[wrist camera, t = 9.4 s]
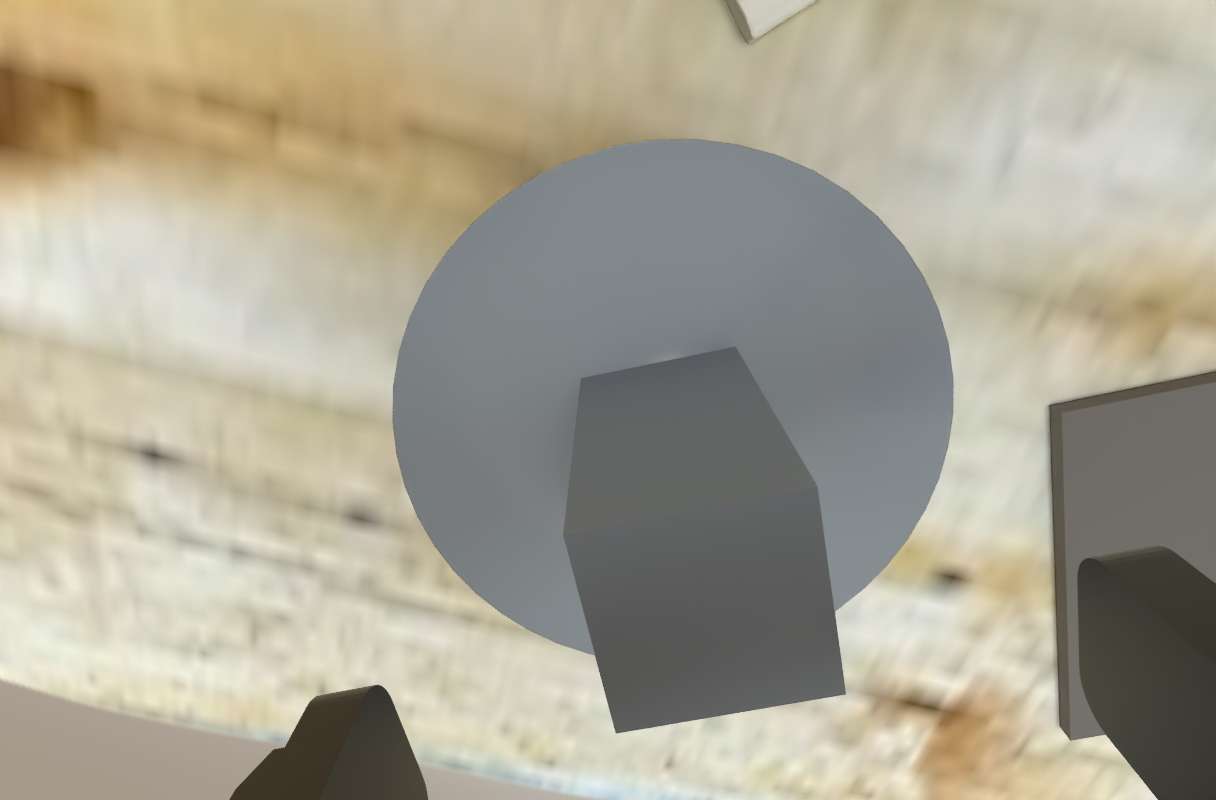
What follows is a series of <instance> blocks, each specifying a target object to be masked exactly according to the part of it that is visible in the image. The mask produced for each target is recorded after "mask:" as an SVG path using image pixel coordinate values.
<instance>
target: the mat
mask: <svg viewBox="0 0 1216 800" xmlns="http://www.w3.org/2000/svg"><path fill="white" fill-rule="evenodd" d="M1050 418H1051V449H1052V480H1053V511H1054V542H1055V574H1056V605H1057V636H1058V667H1059V698H1060V727H1061V729H1062V730H1063V731H1064V733H1065V734H1066V735H1067V736H1068V738H1069V739H1070V740H1076V739H1082V738H1088V737H1094V736H1100V735H1106V734H1105V733H1104V731H1103V730H1102V729H1101V727H1100V725H1099V724H1098V722H1097V721H1096V719H1095V717H1094V715H1093V713H1092V711H1091V709H1090V707H1089V705H1088V702H1087V700H1086V697H1085V694H1084V691H1083V687H1082V684H1081V679H1080V671H1079V635H1078V589H1077V574H1078V568H1079V565H1080V563H1081V562H1082V561H1083V560H1084V559H1086V558H1090V557H1096V556H1101V555H1107V554H1112V553H1118V552H1123V551H1129V550H1134V549H1140V548H1146V547H1151V546H1158V545H1159V546H1164V547H1166V548H1169V549H1170V550H1172V551H1173V552H1175V553H1176V554H1178V555H1179V556H1180V557H1182V558H1183V559H1184V560H1186V561H1187V562H1188V563H1189V564H1191V565H1192V566H1193V567H1195V568H1196V569H1197V570H1199V571H1200V572H1201V573H1203V574H1204V575H1205V576H1206V577H1208V578H1209V579H1210V580H1212V581H1213V582H1214V583H1216V372H1214V373H1209V374H1204V375H1199V376H1194V377H1189V378H1184V379H1179V380H1174V381H1169V382H1164V383H1159V384H1155V385H1150V386H1145V387H1140V388H1135V389H1130V390H1125V391H1120V392H1115V393H1110V394H1105V395H1100V396H1095V397H1090V398H1085V399H1080V400H1076V401H1071V402H1066V403H1061V404H1056V405H1051V406H1050Z"/></svg>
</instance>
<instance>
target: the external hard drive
mask: <svg viewBox="0 0 1216 800" xmlns="http://www.w3.org/2000/svg"><path fill="white" fill-rule="evenodd" d="M816 1H817V0H726V2H727V4H728V6H729V8H730V10H731V12H732V14H733V16H734V18H735V20H736V23H737V25H738V27H739V29H740V31H741V33H742V35H743V37H744V38H745V40H746V42H747V43H752V42H753V41H755V40H757V39H758V38H760V37H761V36H763V35H764V34H766V33H767V32H769V31H770V30H772V29H773V28H775V27H777V26H778V25H780V24H781V23H783V22H784V21H786V20H787V19H789V18H790V17H792V16H793V15H795V14H797V13H798V12H800V11H801V10H803V9H804V8H806V7H808V6H809V5H811V4H812V3H814V2H816Z"/></svg>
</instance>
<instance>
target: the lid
mask: <svg viewBox="0 0 1216 800" xmlns="http://www.w3.org/2000/svg"><path fill="white" fill-rule="evenodd" d="M952 417H953V372H952V365H951V358H950V351H949V344H948V340H947V336H946V333H945V330H944V326H943V323H942V319H941V316H940V313H939V309H938V307H937V305H936V302H935V300H934V298H933V296H932V294H931V292H930V289H929V287H928V285H927V283H926V281H925V279H924V276H923V275H922V273H921V272H920V270H919V269H918V267H917V266H916V264H915V263H914V261H913V259H912V258H911V256H910V255H909V253H908V252H907V250H906V249H905V247H904V246H903V244H902V243H901V242H900V241H899V240H898V239H897V238H896V237H895V235H894V234H893V233H892V232H891V231H890V230H889V229H888V228H887V226H886V225H885V224H884V223H883V222H882V221H881V220H880V219H879V217H878V216H876V215H875V214H874V213H873V212H872V211H870V210H869V209H868V208H867V207H866V206H864V205H863V204H862V203H861V202H860V201H858V200H857V199H856V198H855V197H854V196H852V195H851V194H850V193H849V192H848V191H846V190H844V189H843V188H841V187H839V186H838V185H836V184H835V183H833V182H831V181H830V180H828V179H826V178H825V177H823V176H821V175H820V174H818V173H817V172H815V171H813V170H811V169H808V168H806V167H804V166H801V165H799V164H797V163H794V162H792V161H790V160H787V159H785V158H783V157H780V156H778V155H775V154H771V153H767V152H764V151H760V150H756V149H752V148H749V147H745V146H741V145H737V144H729V143H721V142H713V141H705V140H697V139H669V140H648V141H642V142H635V143H629V144H622V145H616V146H611V147H608V148H605V149H602V150H598V151H595V152H592V153H588V154H585V155H582V156H578V157H575V158H573V159H571V160H569V161H567V162H564V163H562V164H560V165H558V166H556V167H553V168H551V169H549V170H547V171H545V172H543V173H540V174H539V175H537V176H536V177H534V178H532V179H531V180H529V181H528V182H526V183H525V184H523V185H521V186H520V187H518V188H517V189H515V190H514V191H512V192H510V193H509V194H507V195H506V196H504V197H503V198H501V199H500V200H499V201H498V202H497V203H496V204H494V205H493V206H492V207H491V208H490V209H489V210H487V211H486V212H485V213H484V214H483V215H481V216H480V217H479V218H478V219H477V220H476V221H474V222H473V223H472V224H471V225H470V227H469V228H468V229H467V230H466V231H465V232H464V233H463V234H462V236H461V237H460V238H459V239H458V240H457V241H456V242H455V243H454V245H453V246H452V247H451V248H450V249H449V250H448V251H447V253H446V254H445V256H444V257H443V259H442V260H441V262H440V263H439V265H438V266H437V268H436V269H435V271H434V272H433V274H432V275H431V277H430V278H429V280H428V281H427V283H426V284H425V286H424V288H423V291H422V293H421V295H420V297H419V299H418V301H417V303H416V305H415V307H414V309H413V311H412V314H411V316H410V318H409V321H408V324H407V328H406V331H405V334H404V337H403V340H402V344H401V347H400V350H399V355H398V361H397V367H396V373H395V379H394V385H393V428H394V437H395V445H396V453H397V458H398V462H399V465H400V469H401V473H402V477H403V481H404V484H405V488H406V490H407V492H408V495H409V497H410V500H411V502H412V505H413V507H414V509H415V512H416V514H417V517H418V518H419V520H420V522H421V524H422V525H423V527H424V529H425V530H426V532H427V534H428V536H429V537H430V539H431V541H432V543H433V544H434V546H435V547H436V548H437V550H438V551H439V552H440V554H441V555H442V556H443V557H444V559H445V560H446V561H447V563H448V564H449V565H450V567H451V568H452V569H453V570H454V572H455V573H456V574H457V575H458V576H459V577H460V578H461V579H462V580H463V581H464V582H465V583H466V584H467V585H468V586H469V587H470V588H471V589H472V590H473V591H474V592H475V593H476V594H477V595H479V596H480V597H481V598H483V599H484V600H485V601H486V602H488V603H489V604H490V605H491V606H493V607H494V608H495V609H497V610H498V611H499V612H500V613H502V614H503V615H505V616H507V617H508V618H510V619H511V620H513V621H515V622H516V623H518V624H520V625H521V626H523V627H525V628H526V629H528V630H530V631H532V632H534V633H536V634H538V635H541V636H543V637H545V638H547V639H549V640H551V641H554V642H556V643H558V644H561V645H564V646H567V647H570V648H573V649H576V650H579V651H582V652H585V653H588V654H593V655H595V657H596V661H597V664H598V668H599V672H600V676H601V679H602V683H603V687H604V691H605V694H606V698H607V702H608V706H609V709H610V713H611V717H612V721H613V724H614V728H615V732H616V733H621V732H627V731H633V730H639V729H645V728H651V727H657V726H662V725H668V724H674V723H680V722H686V721H692V720H698V719H704V718H709V717H715V716H721V715H727V714H733V713H739V712H745V711H751V710H756V709H762V708H768V707H774V706H780V705H786V704H792V703H798V702H803V701H809V700H815V699H821V698H827V697H833V696H839V695H845V694H846V692H845V684H844V677H843V670H842V662H841V655H840V647H839V640H838V633H837V625H836V618H835V611H836V610H838V609H839V608H840V607H841V606H843V605H844V604H845V603H846V602H848V601H849V600H850V599H852V598H853V597H854V596H855V595H857V594H858V593H859V592H860V591H862V590H863V589H864V588H865V587H866V586H867V585H868V584H869V583H870V582H871V581H872V580H873V579H874V578H875V577H876V576H877V575H878V574H879V573H880V572H881V571H882V570H883V569H884V568H885V567H886V566H887V565H888V564H889V562H890V561H891V560H892V559H893V557H894V556H895V555H896V553H897V552H898V551H899V550H900V548H901V547H902V546H903V545H904V543H905V542H906V541H907V539H908V538H909V536H910V535H911V533H912V531H913V530H914V528H915V526H916V525H917V523H918V521H919V520H920V518H921V516H922V515H923V513H924V511H925V509H926V507H927V505H928V503H929V500H930V498H931V496H932V493H933V491H934V489H935V487H936V484H937V482H938V480H939V477H940V473H941V470H942V466H943V463H944V459H945V456H946V452H947V449H948V444H949V437H950V430H951V424H952Z"/></svg>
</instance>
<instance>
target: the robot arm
mask: <svg viewBox="0 0 1216 800" xmlns="http://www.w3.org/2000/svg"><path fill="white" fill-rule="evenodd" d="M1077 589H1078V635H1079V671H1080V679H1081V684H1082V687H1083V691H1084V694H1085V697H1086V700H1087V702H1088V705H1089V707H1090V709H1091V711H1092V713H1093V715H1094V717H1095V719H1096V721H1097V722H1098V724H1099V725H1100V727H1101V729H1102V730H1103V731H1104V733H1105V734H1106V735H1107V737H1108V738H1109V739H1110V740H1111V742H1112V743H1113V744H1114V745H1115V747H1116V748H1117V749H1118V750H1119V752H1120V753H1121V754H1122V755H1123V757H1124V758H1125V759H1126V760H1127V762H1128V763H1129V764H1130V765H1131V767H1132V768H1133V769H1134V770H1135V772H1136V773H1137V774H1138V775H1139V777H1140V778H1141V779H1142V780H1143V782H1144V783H1145V784H1146V785H1147V786H1148V788H1149V789H1150V790H1151V791H1152V793H1153V794H1154V795H1155V796H1156V798H1157V799H1158V800H1216V583H1214V582H1213V581H1212V580H1210V579H1209V578H1208V577H1206V576H1205V575H1204V574H1203V573H1201V572H1200V571H1199V570H1197V569H1196V568H1195V567H1193V566H1192V565H1191V564H1189V563H1188V562H1187V561H1186V560H1184V559H1183V558H1182V557H1180V556H1179V555H1178V554H1176V553H1175V552H1173V551H1172V550H1170V549H1169V548H1166V547H1164V546H1159V545H1158V546H1151V547H1146V548H1140V549H1134V550H1129V551H1123V552H1118V553H1112V554H1107V555H1101V556H1096V557H1090V558H1086V559H1084V560H1083V561H1082V562H1081V563H1080V565H1079V568H1078V574H1077ZM230 800H428V796H427V790H426V786H425V782H424V779H423V776H422V773H421V771H420V769H419V766H418V764H417V761H416V759H415V756H414V754H413V751H412V749H411V746H410V744H409V741H408V739H407V736H406V734H405V731H404V729H403V726H402V724H401V721H400V719H399V716H398V714H397V711H396V709H395V706H394V704H393V701H392V699H391V697H390V695H389V693H388V692H387V690H386V689H385V688H384V687H382V686H380V685H374V686H369V687H363V688H358V689H352V690H347V691H341V692H336V693H330V694H325V695H320V696H316V697H315V698H313V699H312V700H311V701H310V703H309V704H308V706H307V707H306V709H305V711H304V713H303V715H302V717H301V718H300V720H299V722H298V724H297V726H296V728H295V730H294V732H293V733H292V735H291V737H290V739H289V741H288V743H287V745H286V746H285V748H279V749H274V750H273V751H272V752H271V753H270V754H269V755H268V756H267V757H266V758H265V759H264V760H263V761H262V762H261V763H260V764H259V765H258V766H257V767H256V769H255V770H254V771H253V772H252V773H251V774H250V775H249V776H248V777H247V778H246V779H245V780H244V781H243V782H242V783H241V784H240V785H239V786H238V787H237V788H236V790H235V791H234V793H233V795H232V797H231V798H230Z"/></svg>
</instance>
